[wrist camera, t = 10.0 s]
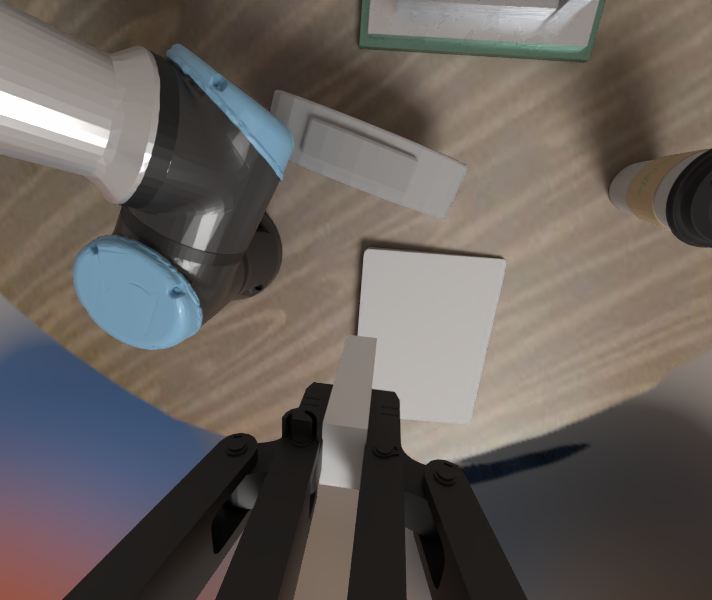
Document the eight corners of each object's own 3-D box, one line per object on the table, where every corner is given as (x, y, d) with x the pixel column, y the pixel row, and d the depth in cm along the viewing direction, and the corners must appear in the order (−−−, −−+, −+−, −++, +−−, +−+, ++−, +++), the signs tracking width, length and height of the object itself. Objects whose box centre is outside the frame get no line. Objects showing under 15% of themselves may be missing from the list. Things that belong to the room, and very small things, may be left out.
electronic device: (365, 245, 51) (364, 248, 49) (505, 258, 50) (509, 261, 48) (352, 406, 62) (351, 414, 60) (468, 421, 60) (470, 429, 58)
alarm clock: (459, 166, 46) (481, 167, 34) (438, 211, 48) (453, 227, 36) (291, 99, 45) (254, 76, 33) (279, 149, 47) (240, 143, 36)
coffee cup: (614, 139, 43) (720, 128, 29) (692, 156, 43) (835, 153, 29) (581, 217, 46) (660, 239, 33) (652, 232, 46) (763, 262, 32)
